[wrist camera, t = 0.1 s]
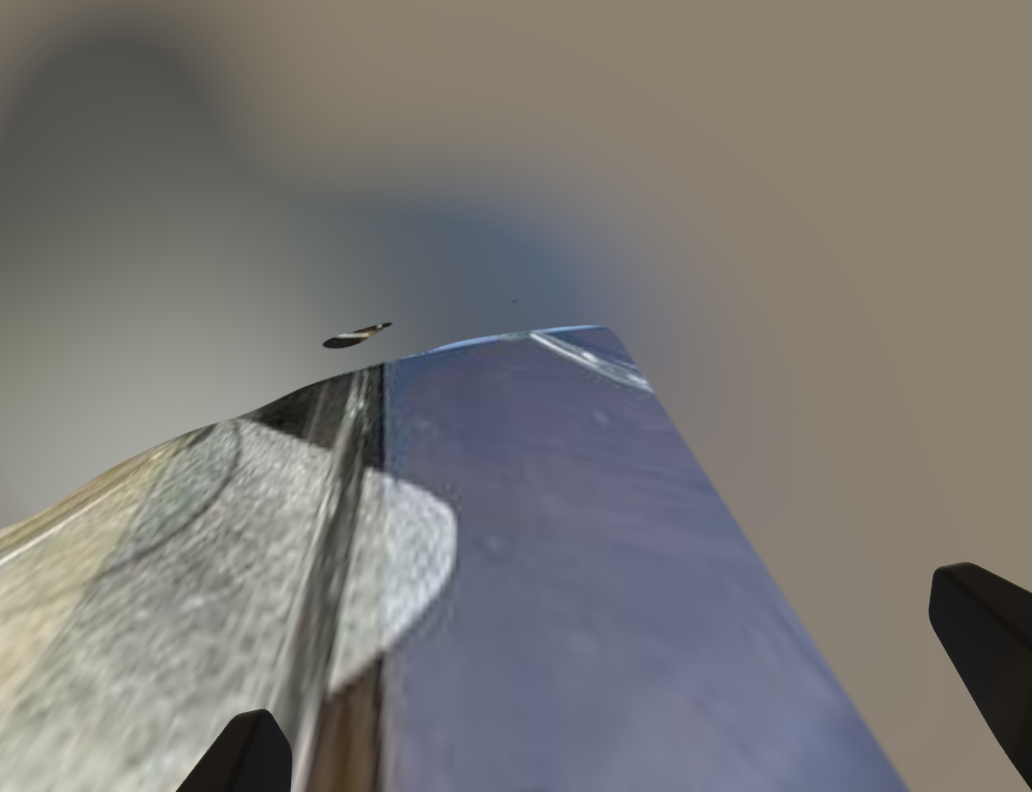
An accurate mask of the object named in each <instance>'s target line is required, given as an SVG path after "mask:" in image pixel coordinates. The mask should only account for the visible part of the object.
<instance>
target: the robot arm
mask: <svg viewBox="0 0 1032 792" xmlns="http://www.w3.org/2000/svg"><path fill="white" fill-rule="evenodd" d="M929 618H930V622H931V624H932V627H933V629H934V631H935V633H936V634H937V636H938V638H939V640H940V642H941V643H942V645H943V647H944V649H945V650H946V652H947V654H948V656H949V657H950V659H951V661H952V663H953V664H954V666H955V668H956V670H957V672H958V673H959V675H960V677H961V678H962V680H963V682H964V684H965V685H966V687H967V689H968V691H969V693H970V694H971V696H972V698H973V700H974V701H975V703H976V705H977V707H978V709H979V710H980V712H981V714H982V716H983V717H984V719H985V721H986V723H987V724H988V726H989V728H990V729H991V731H992V733H993V734H994V736H995V738H996V739H997V741H998V742H999V744H1000V745H1001V747H1002V748H1003V750H1004V751H1005V753H1006V754H1007V756H1008V757H1009V759H1010V760H1011V762H1012V763H1013V765H1014V766H1015V768H1016V769H1017V770H1018V772H1019V773H1020V775H1021V776H1022V777H1023V779H1024V780H1025V782H1026V783H1027V785H1028V786H1029V787H1030V789H1031V790H1032V593H1031V592H1029V591H1027V590H1025V589H1023V588H1021V587H1019V586H1017V585H1015V584H1013V583H1011V582H1009V581H1008V580H1006V579H1003V578H1002V577H999V576H998V575H996V574H994V573H992V572H990V571H988V570H986V569H984V568H981V567H980V566H978V565H975V564H972V563H969V562H963V563H962V562H961V563H957V564H952V565H948V566H943V567H939V568H938V569H936V571H935V572H934V574H933V580H932V587H931V595H930V603H929ZM291 776H292V751H291V747H290V744H289V742H288V740H287V739H286V737H285V735H284V734H283V732H282V730H281V729H280V727H279V725H278V724H277V722H276V721H275V719H274V717H273V716H272V714H271V713H270V712H269V711H267V710H266V709H259V710H254V711H249V712H245V713H241V714H238V715H236V716H235V717H234V718H233V719H232V720H231V721H230V722H229V723H228V724H227V726H226V727H225V728H224V730H223V731H222V732H221V734H220V735H219V736H218V737H217V739H216V740H215V741H214V743H213V744H212V745H211V746H210V748H209V749H208V750H207V752H206V753H205V754H204V756H203V757H202V758H201V759H200V761H199V762H198V763H197V765H196V766H195V767H194V769H193V770H192V771H191V772H190V774H189V775H188V776H187V778H186V779H185V780H184V781H183V783H182V784H181V785H180V787H179V788H178V789H177V791H176V792H290V791H291Z"/></svg>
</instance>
